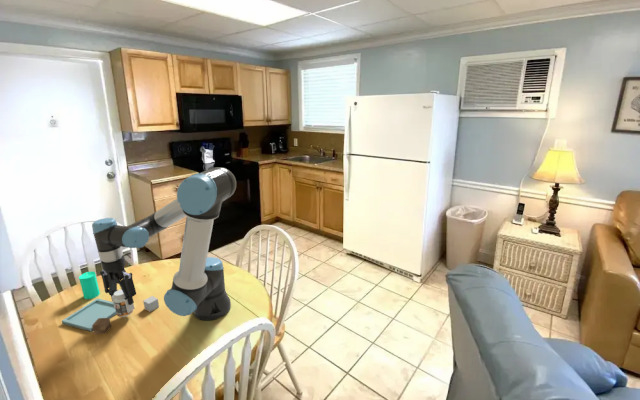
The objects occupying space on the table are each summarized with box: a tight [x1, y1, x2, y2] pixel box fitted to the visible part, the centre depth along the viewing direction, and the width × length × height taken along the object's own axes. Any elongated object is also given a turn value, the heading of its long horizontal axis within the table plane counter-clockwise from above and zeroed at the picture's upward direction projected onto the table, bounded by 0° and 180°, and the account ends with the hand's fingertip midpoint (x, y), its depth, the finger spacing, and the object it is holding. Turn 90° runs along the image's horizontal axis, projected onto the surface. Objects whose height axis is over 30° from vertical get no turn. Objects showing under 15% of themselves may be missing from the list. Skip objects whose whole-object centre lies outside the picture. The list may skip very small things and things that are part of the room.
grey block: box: [143, 295, 160, 313], centre depth 132 cm, size 4×4×4 cm
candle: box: [78, 271, 101, 300], centre depth 138 cm, size 6×6×12 cm
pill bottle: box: [114, 288, 134, 318], centre depth 124 cm, size 6×6×10 cm
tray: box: [61, 297, 117, 332], centre depth 127 cm, size 15×15×2 cm
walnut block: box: [92, 318, 112, 335], centre depth 119 cm, size 4×4×4 cm
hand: (124, 309), depth 125 cm, fingers closed on pill bottle, 6 cm apart
